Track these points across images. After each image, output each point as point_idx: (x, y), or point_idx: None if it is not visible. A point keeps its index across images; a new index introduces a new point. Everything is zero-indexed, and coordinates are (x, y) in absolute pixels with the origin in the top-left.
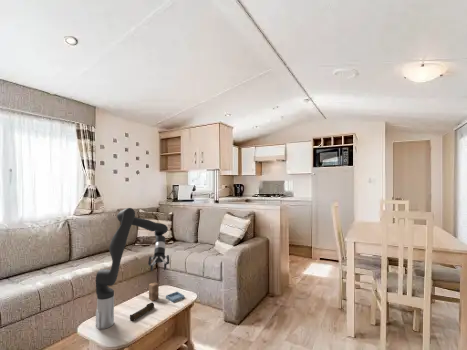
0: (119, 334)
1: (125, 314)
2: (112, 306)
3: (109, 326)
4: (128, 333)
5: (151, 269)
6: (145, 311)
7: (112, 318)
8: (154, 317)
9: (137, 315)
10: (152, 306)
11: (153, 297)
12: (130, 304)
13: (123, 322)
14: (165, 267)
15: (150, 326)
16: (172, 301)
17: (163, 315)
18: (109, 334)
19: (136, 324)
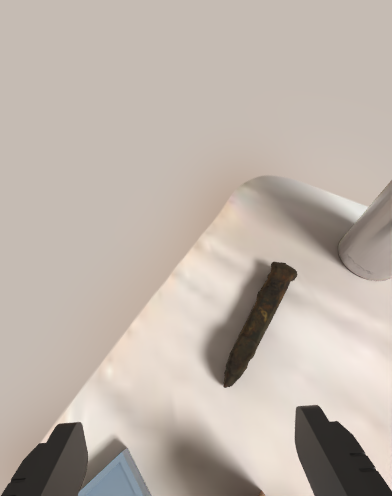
0: (281, 208)
1: (338, 327)
2: (377, 205)
3: (341, 239)
4: (256, 211)
5: (320, 412)
6: (247, 319)
7: (349, 237)
8: (199, 293)
9: (267, 280)
10: (227, 363)
11: None
12: (384, 450)
13: (308, 267)
14: (32, 467)
15: (200, 240)
16: (127, 453)
17: (165, 306)
18: (312, 209)
19: (252, 252)
